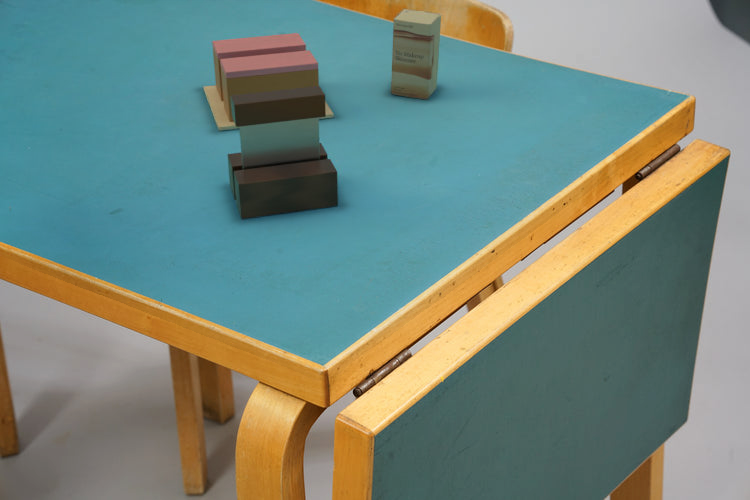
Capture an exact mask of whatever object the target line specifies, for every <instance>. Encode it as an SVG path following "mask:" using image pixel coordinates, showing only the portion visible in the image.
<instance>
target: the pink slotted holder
mask: <svg viewBox="0 0 750 500" xmlns="http://www.w3.org/2000/svg"><path fill="white" fill-rule="evenodd" d="M211 45H212V46H211V47H212V56H213V67H214V78H215V79H214V81H215V85H204V86H203V92H204V94H205V98H206V99H207V102H208V105H209V108H210V110H211V114H212V116H213V118H214V121H215V124H216V126H217V129H218V131H219V132H221V131H228V130H237V129H238V130H239V127H236V125H235V123H234V120H233V118H232V109H231V95H240V94H249V93H258V92H267V91H277V90H286V89H295V88H304V87H314V86H320V80H319V79H320V77H319V62H318V61H317V59H316V57H315V56H314V55H313V53H312V52H311V50H307V44H306V42H305V41H304V40H303V38H302V36H301V35H300V34H299V32H292V33H283V34H282V33H281V34H272V35H259V36H251V37H249V36H248V37H239V38H230V39H229V38H228V39H219V40H212V41H211ZM325 109H326V116H325V117H319V120H322V119H323V120H324V119H332V118H334V117H335V115H334V113H333V111H332V109H331V107H330V106H329V104H328V103H327V101H326V100H325Z"/></svg>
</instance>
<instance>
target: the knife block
mask: <svg viewBox="0 0 750 500" xmlns="http://www.w3.org/2000/svg"><path fill="white" fill-rule="evenodd" d="M319 145H320V160H317V161H309V162H301V163H293V164H285V165H277V166H269V167H261V168H253V169H246V170H243V169H242V156H241V152H234V153H227V165H228V166H227V167H228V177H229V188H230V191H231V193H232V197H233V200H234V201H235V202H236V203H235V205H236V208H237V211H238V214H239V216H240V217H239V218H240V220H246V219H253V218H259V217H260V218H261V217H268V216H275V215H282V214H288V213H295V212H303V211H311V210H318V209H325V208H333V207H338V206H339V197H338V196H339V195H338V194H339V193H338V187H339V186H338V170H337V169H336V167H335V165H334V163H333V161H332V160H331V158H329V155H328V152H327V151H326V150H325V149H326V148H325V147H324V146H323V144H322V143H321V142H319Z"/></svg>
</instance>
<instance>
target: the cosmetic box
mask: <svg viewBox="0 0 750 500" xmlns="http://www.w3.org/2000/svg"><path fill="white" fill-rule="evenodd" d="M441 23H442V14H441V13H437V12H431V11H426V10H415V9H410V8H409V9H408V8H403V9H402V10H401V11H400V12H399V13H397V14H396V16H394V18H393V28H392V30H393V31H392V52H391V53H392V54H391V56H392V57H391V78H390V79H391V81H390V94H391V95H394V96H395V95H396V96H401V97H406V98H412V99H420V100H428V99H429V98H430V97H431V95H432V94H433V93H434V92H435V91H436V90H437V86H438V73H439V72H438V71H439V57H440V55H439V54H440V40H441V39H440V38H441V27H442V26H441V25H442V24H441Z"/></svg>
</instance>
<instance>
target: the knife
mask: <svg viewBox="0 0 750 500" xmlns="http://www.w3.org/2000/svg"><path fill="white" fill-rule="evenodd" d="M325 101H326V94H325V92H324V91H323V89H322V87H321V86H320V85H319V86H314V87H304V88H295V89H286V90H277V91H267V92H258V93H249V94H240V95H231V109H232V118H233V120H234V123H235V125H236V127H239V129H238V130H239V140H240V153H241V156H242V169H243V170H246V169H253V168H261V167H269V166H277V165H285V164H293V163H301V162H309V161H317V160H320V145H319V143H320V119H319V117H325V116H326V109H325Z"/></svg>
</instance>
